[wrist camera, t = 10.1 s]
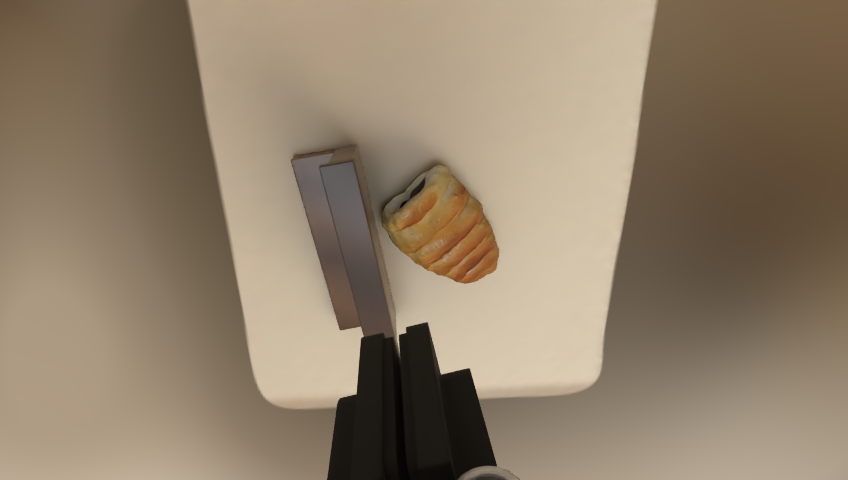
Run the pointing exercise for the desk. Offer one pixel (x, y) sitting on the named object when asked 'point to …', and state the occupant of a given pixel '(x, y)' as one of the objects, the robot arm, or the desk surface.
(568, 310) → the desk surface
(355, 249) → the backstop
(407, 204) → the pastry
